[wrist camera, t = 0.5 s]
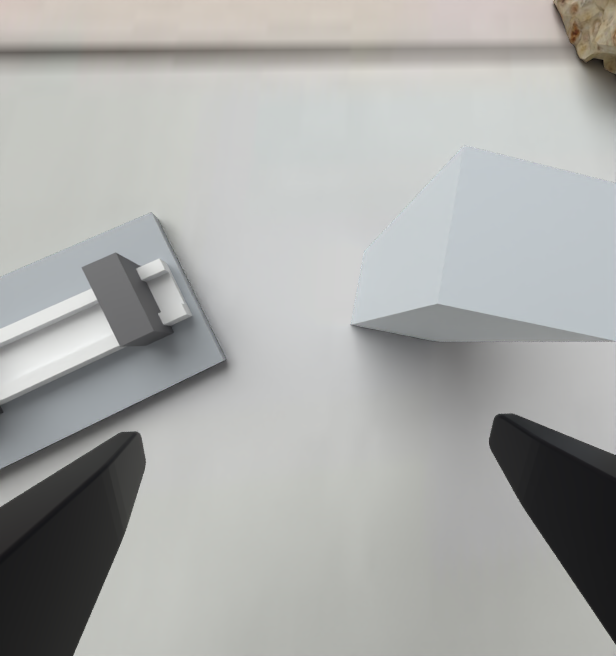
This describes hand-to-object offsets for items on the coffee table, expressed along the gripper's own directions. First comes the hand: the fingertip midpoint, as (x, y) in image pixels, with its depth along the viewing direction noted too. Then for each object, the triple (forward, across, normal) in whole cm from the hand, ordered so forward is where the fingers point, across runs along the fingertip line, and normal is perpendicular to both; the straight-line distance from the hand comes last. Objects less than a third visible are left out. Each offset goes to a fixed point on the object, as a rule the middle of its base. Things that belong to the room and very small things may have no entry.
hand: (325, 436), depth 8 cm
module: (+14, -7, 0) cm, 16 cm away
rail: (+13, +14, +2) cm, 19 cm away
